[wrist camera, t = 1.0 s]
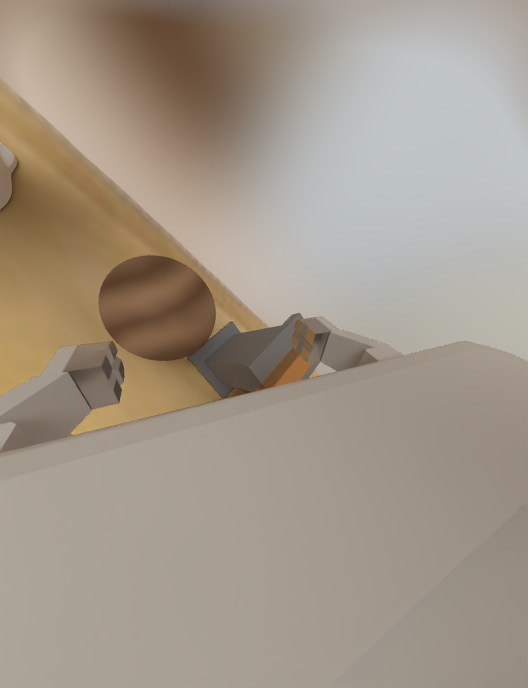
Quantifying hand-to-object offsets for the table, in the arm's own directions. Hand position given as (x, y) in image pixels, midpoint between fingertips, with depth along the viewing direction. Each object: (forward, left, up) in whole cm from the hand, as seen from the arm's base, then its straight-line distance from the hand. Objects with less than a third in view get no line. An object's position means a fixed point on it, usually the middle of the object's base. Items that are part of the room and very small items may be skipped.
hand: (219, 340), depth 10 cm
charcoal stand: (+14, +14, -42) cm, 47 cm away
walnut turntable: (-4, +6, -26) cm, 27 cm away
